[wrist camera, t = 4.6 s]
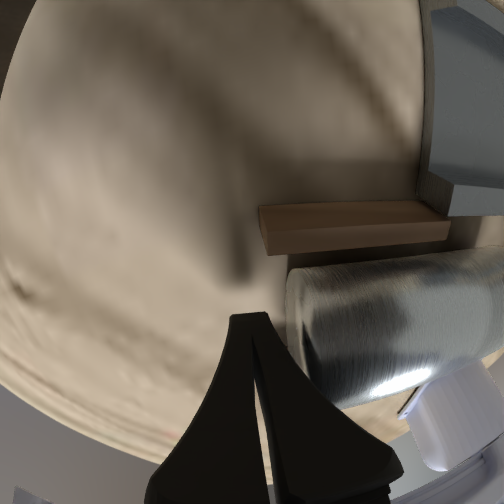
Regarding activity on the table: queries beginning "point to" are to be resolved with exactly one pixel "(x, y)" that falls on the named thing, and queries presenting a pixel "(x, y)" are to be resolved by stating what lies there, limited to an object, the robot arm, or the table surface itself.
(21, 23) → the wood block
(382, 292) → the grey metal cylinder
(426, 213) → the brown piece
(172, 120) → the table surface
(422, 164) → the cradle
